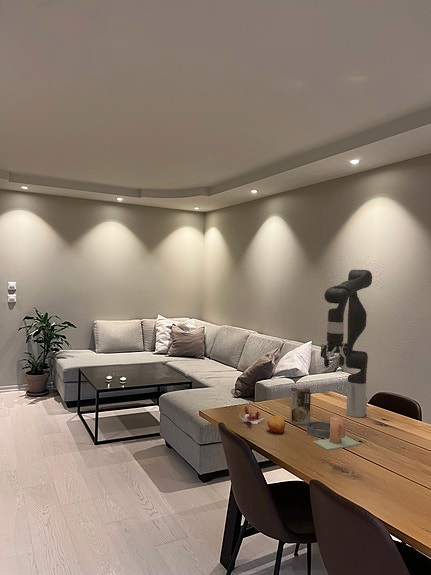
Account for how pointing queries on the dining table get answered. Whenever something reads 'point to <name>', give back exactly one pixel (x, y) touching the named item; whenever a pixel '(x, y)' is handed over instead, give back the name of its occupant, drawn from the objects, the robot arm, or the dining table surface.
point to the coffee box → (300, 405)
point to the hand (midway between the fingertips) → (334, 366)
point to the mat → (330, 446)
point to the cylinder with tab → (336, 430)
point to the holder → (317, 432)
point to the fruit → (276, 424)
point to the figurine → (251, 417)
